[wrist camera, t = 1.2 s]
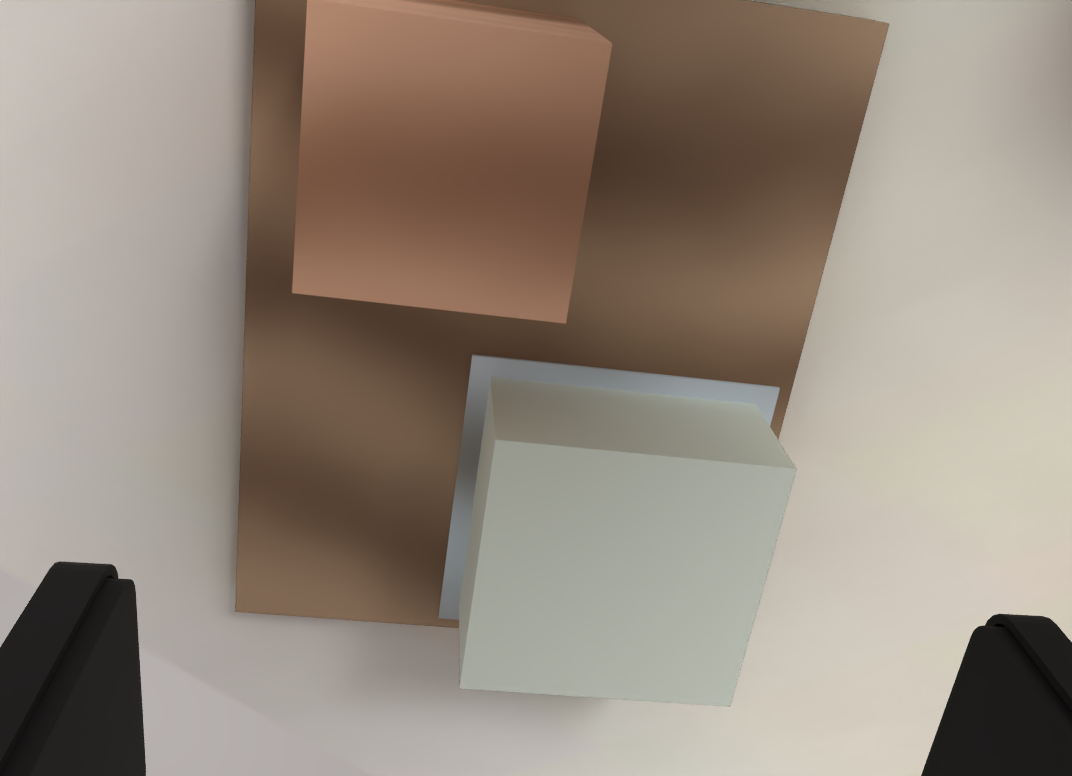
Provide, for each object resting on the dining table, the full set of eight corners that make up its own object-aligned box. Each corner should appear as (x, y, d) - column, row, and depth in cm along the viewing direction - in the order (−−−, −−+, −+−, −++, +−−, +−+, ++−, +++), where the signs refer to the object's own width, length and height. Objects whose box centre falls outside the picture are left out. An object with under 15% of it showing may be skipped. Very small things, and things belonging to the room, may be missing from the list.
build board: (266, -75, 26) (256, -75, 24) (872, 19, 28) (890, 23, 26) (242, 589, 34) (234, 613, 32) (714, 625, 36) (723, 649, 34)
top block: (339, -17, 25) (307, -2, 20) (579, 18, 26) (612, 43, 20) (324, 220, 28) (292, 292, 22) (544, 247, 28) (566, 323, 23)
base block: (490, 376, 30) (495, 439, 26) (756, 404, 31) (796, 468, 27) (459, 604, 33) (459, 688, 29) (700, 622, 34) (730, 706, 30)
